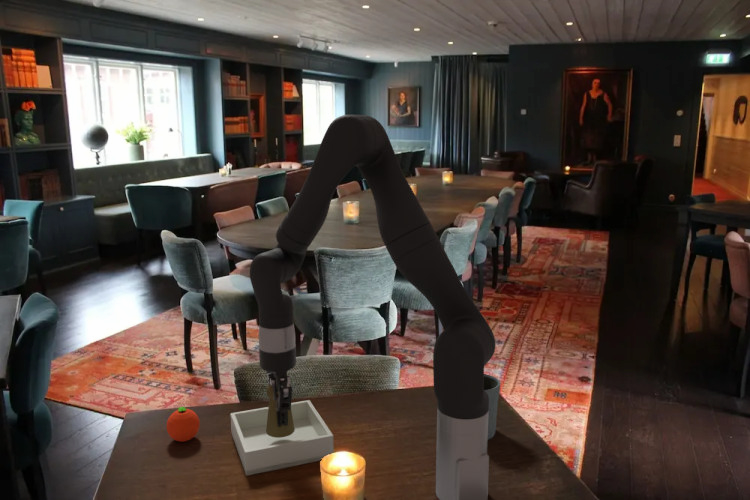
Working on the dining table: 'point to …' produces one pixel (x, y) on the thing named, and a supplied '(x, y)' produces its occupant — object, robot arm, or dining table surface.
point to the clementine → (183, 424)
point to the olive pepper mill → (272, 425)
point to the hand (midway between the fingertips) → (280, 420)
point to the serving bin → (280, 439)
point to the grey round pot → (492, 402)
